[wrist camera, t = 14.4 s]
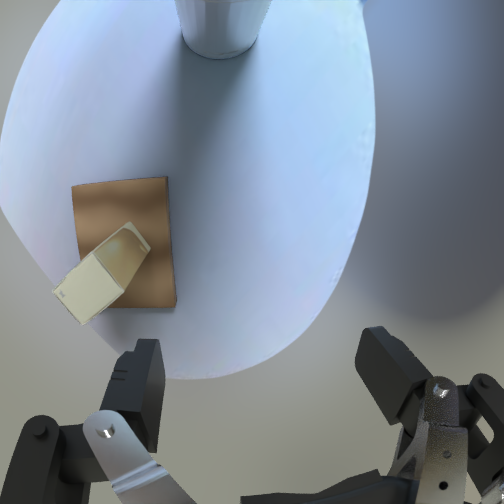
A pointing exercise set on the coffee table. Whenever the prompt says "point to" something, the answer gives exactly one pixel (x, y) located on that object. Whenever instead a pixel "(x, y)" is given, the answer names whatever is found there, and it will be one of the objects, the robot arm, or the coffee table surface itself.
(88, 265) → the skincare box
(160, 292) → the walnut board
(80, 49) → the coffee table surface
